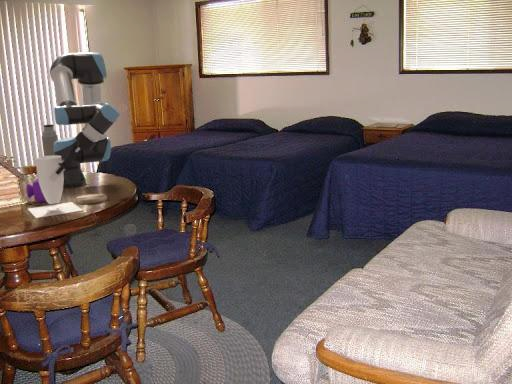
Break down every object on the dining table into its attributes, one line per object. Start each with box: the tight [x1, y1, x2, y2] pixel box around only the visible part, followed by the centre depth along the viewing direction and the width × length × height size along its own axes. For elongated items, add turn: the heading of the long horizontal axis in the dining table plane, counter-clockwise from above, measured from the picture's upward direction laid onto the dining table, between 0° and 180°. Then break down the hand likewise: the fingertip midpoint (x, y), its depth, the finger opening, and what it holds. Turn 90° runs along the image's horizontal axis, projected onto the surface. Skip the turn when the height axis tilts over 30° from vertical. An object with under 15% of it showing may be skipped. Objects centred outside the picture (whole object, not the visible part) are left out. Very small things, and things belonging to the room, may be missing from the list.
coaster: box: [75, 193, 108, 205], centre depth 241 cm, size 13×13×2 cm
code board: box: [27, 201, 84, 219], centre depth 227 cm, size 18×18×1 cm
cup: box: [35, 155, 64, 205], centre depth 225 cm, size 10×10×22 cm
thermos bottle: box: [41, 124, 59, 156], centre depth 299 cm, size 8×8×28 cm
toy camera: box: [25, 178, 48, 203], centre depth 244 cm, size 11×14×10 cm
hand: (53, 176), depth 224 cm, fingers open, 13 cm apart
